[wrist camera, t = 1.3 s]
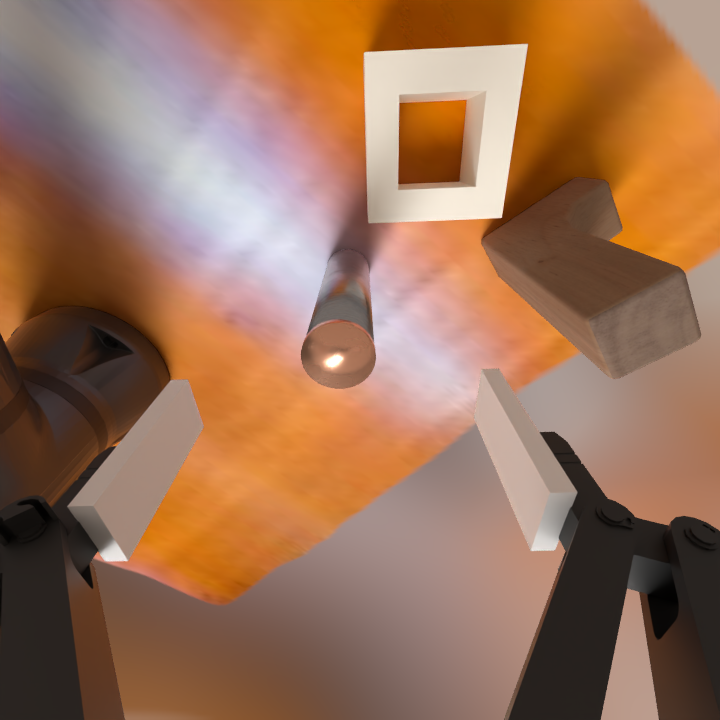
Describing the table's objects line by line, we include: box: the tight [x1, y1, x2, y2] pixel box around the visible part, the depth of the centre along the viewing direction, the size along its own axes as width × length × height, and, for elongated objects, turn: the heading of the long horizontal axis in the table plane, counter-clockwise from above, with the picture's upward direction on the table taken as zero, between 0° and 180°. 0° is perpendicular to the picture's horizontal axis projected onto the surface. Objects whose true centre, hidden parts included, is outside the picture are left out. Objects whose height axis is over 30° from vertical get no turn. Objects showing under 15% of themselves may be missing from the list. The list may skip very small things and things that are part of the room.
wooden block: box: [481, 177, 701, 379], centre depth 24 cm, size 9×4×18 cm, turn 126°
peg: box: [301, 249, 376, 389], centre depth 27 cm, size 4×4×17 cm
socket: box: [364, 44, 528, 223], centre depth 27 cm, size 10×10×5 cm
